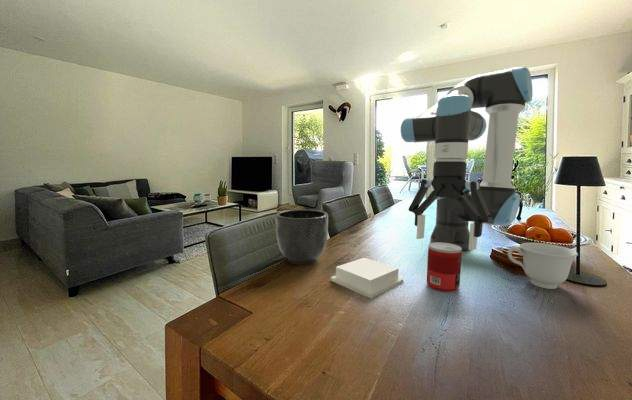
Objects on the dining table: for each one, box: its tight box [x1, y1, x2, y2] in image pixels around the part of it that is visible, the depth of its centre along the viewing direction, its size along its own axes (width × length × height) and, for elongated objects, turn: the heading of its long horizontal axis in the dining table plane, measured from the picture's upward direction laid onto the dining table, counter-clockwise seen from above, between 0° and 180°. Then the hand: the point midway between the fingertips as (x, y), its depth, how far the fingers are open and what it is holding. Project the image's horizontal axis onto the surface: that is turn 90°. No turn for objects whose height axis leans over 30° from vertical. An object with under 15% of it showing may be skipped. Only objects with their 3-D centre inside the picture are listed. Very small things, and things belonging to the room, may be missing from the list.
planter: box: [275, 209, 329, 266], centre depth 95 cm, size 17×17×16 cm
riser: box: [330, 257, 404, 299], centre depth 79 cm, size 14×14×4 cm
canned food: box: [426, 242, 463, 293], centre depth 75 cm, size 8×8×11 cm
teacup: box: [507, 242, 579, 290], centre depth 77 cm, size 12×15×10 cm
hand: (444, 243), depth 74 cm, fingers open, 13 cm apart
